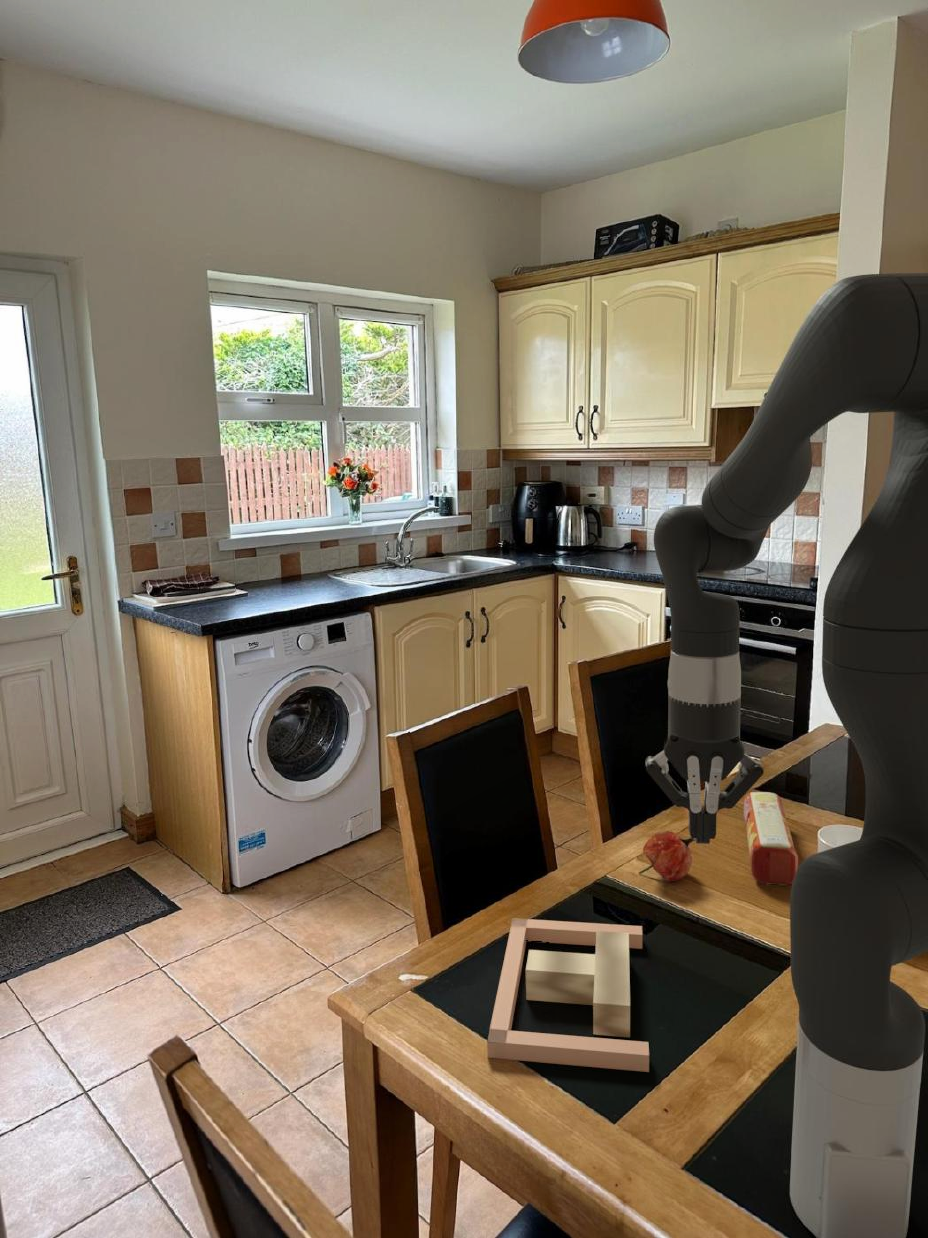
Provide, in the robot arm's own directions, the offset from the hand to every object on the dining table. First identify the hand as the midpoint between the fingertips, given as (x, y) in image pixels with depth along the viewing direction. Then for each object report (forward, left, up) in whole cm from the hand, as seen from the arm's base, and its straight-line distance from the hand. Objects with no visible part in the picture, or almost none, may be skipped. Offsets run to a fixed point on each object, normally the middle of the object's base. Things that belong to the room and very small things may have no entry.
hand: (702, 840), depth 96 cm
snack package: (+38, -14, -21) cm, 46 cm away
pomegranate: (+29, +2, -21) cm, 36 cm away
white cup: (+24, -22, -21) cm, 38 cm away
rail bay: (0, +14, -20) cm, 25 cm away
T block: (0, +14, -21) cm, 25 cm away
